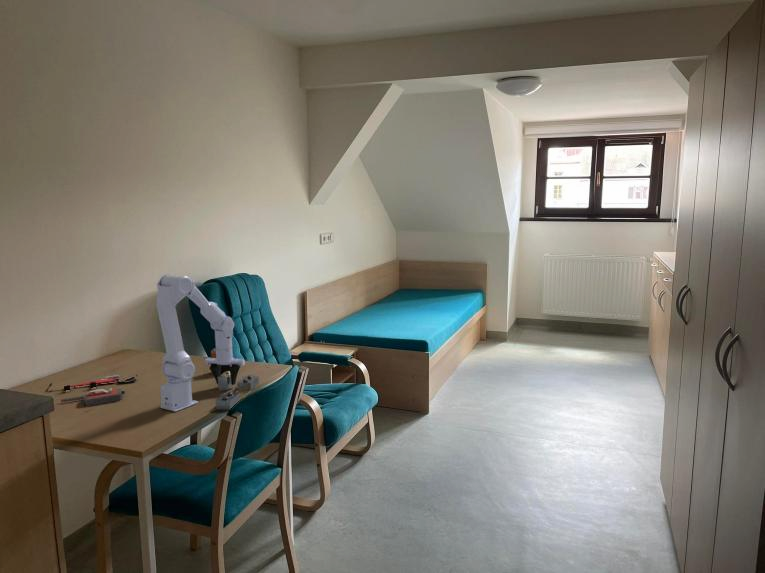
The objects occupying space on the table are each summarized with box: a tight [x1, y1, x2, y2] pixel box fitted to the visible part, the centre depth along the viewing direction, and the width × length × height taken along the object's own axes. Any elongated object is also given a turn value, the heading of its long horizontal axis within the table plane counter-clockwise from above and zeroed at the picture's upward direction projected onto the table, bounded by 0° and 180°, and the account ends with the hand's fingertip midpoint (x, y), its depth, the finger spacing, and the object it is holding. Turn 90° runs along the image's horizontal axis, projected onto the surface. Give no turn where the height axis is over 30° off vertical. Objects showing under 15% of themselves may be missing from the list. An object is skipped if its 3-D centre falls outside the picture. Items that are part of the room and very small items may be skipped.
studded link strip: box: [214, 374, 260, 411], centre depth 195 cm, size 26×5×4 cm, turn 172°
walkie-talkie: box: [60, 387, 126, 407], centre depth 192 cm, size 9×4×20 cm
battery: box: [210, 347, 231, 374], centre depth 222 cm, size 4×7×10 cm, turn 111°
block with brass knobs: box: [217, 371, 234, 391], centre depth 204 cm, size 6×4×6 cm, turn 172°
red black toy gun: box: [46, 374, 138, 392], centre depth 211 cm, size 30×3×15 cm
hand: (226, 383), depth 204 cm, fingers open, 5 cm apart
